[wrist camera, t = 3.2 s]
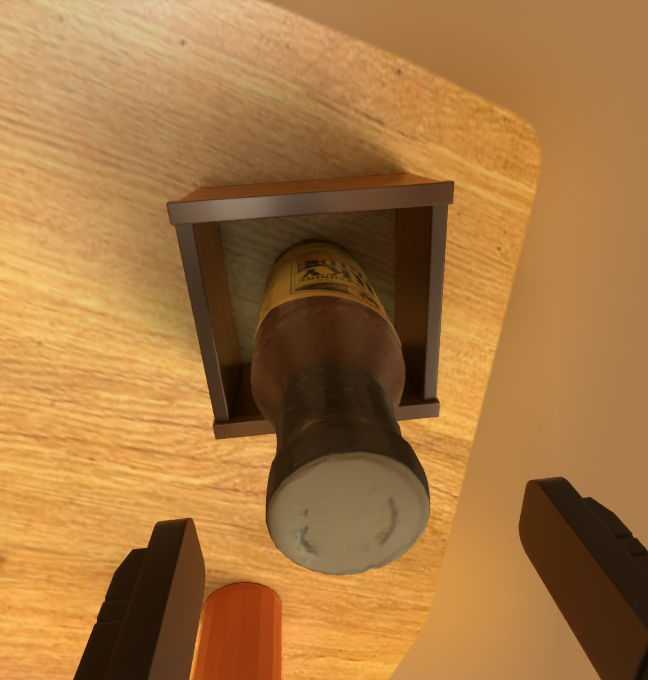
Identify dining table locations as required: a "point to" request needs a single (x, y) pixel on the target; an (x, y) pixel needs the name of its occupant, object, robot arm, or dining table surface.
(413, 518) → the sauce bottle
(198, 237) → the brown wooden box
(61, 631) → the dining table surface
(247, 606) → the cup
